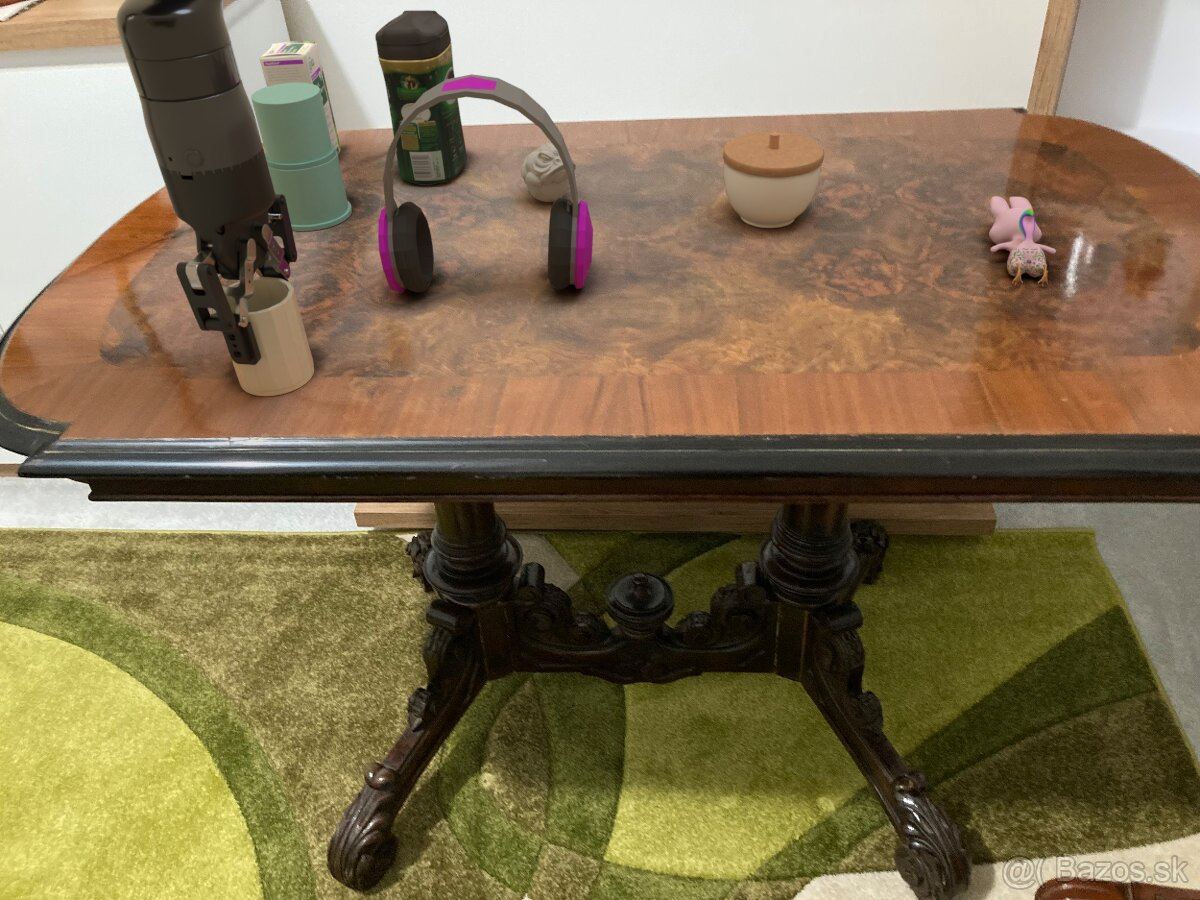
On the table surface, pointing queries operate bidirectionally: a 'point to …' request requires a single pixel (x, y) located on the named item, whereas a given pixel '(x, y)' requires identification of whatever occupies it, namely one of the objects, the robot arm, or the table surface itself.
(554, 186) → the frog figurine
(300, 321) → the cream cup
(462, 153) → the coffee jar
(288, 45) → the syrup box
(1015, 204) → the rabbit figure
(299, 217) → the cup stack
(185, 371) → the table surface
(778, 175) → the lidded sugar bowl
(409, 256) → the headphones
